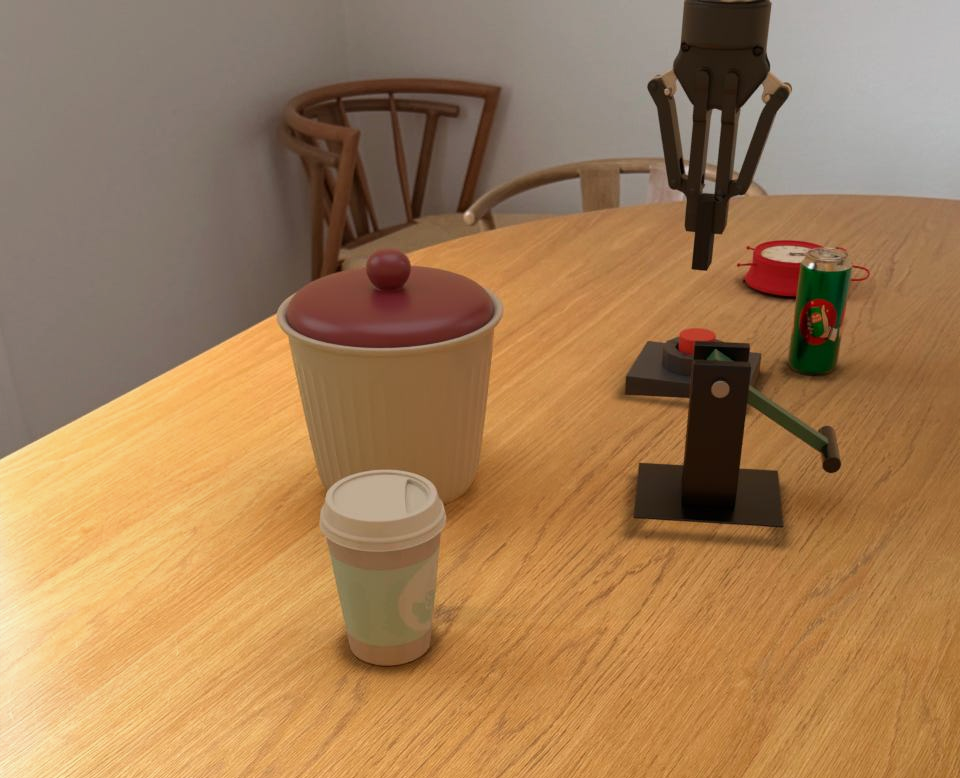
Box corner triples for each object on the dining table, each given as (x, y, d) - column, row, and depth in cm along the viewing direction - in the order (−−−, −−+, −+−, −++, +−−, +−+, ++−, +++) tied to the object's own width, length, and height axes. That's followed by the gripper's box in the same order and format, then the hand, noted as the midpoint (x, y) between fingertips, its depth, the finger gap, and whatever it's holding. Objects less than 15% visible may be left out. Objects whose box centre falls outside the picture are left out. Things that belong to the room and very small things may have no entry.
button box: (759, 373, 131) (763, 336, 129) (744, 411, 123) (749, 372, 121) (646, 360, 134) (648, 324, 132) (624, 396, 126) (626, 358, 124)
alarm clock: (745, 237, 157) (870, 220, 152) (751, 286, 160) (873, 271, 155) (732, 263, 149) (863, 245, 143) (738, 314, 152) (867, 298, 146)
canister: (413, 565, 99) (401, 305, 87) (251, 502, 108) (221, 258, 96) (543, 481, 111) (549, 241, 99) (388, 430, 120) (376, 205, 108)
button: (717, 346, 127) (718, 329, 126) (710, 359, 125) (712, 342, 124) (681, 342, 128) (683, 326, 127) (675, 355, 126) (676, 338, 125)
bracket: (775, 485, 110) (796, 333, 102) (781, 542, 102) (804, 381, 94) (638, 477, 111) (648, 327, 104) (632, 532, 103) (642, 374, 96)
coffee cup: (409, 690, 86) (401, 537, 79) (307, 656, 89) (291, 506, 82) (471, 629, 92) (469, 482, 85) (373, 599, 95) (363, 455, 88)
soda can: (809, 355, 135) (825, 243, 128) (846, 369, 131) (865, 255, 125) (776, 366, 132) (791, 252, 126) (813, 381, 129) (831, 265, 122)
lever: (823, 448, 105) (842, 427, 104) (828, 481, 100) (849, 459, 99) (696, 362, 103) (715, 339, 101) (696, 391, 98) (715, 367, 96)
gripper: (810, -8, 110) (774, 260, 123) (662, -15, 113) (644, 248, 126) (799, 4, 104) (763, 285, 117) (644, -3, 107) (627, 271, 121)
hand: (701, 265), depth 122 cm, fingers closed
